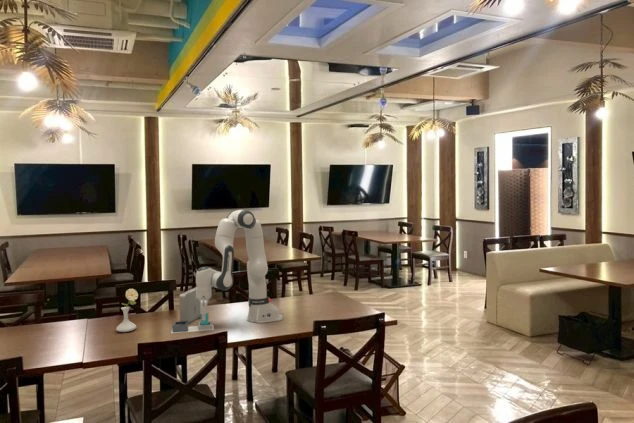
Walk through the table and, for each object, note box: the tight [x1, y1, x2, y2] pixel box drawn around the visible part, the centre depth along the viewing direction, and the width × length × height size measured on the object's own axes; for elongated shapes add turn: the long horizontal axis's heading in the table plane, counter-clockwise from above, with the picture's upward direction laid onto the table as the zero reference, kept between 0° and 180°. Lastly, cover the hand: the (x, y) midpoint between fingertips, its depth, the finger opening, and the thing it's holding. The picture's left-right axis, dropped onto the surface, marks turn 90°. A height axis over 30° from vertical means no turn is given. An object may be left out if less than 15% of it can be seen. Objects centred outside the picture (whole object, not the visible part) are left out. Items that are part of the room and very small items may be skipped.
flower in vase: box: [115, 288, 139, 333], centre depth 292 cm, size 13×11×25 cm
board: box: [170, 324, 215, 334], centre depth 288 cm, size 24×11×2 cm, turn 103°
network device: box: [178, 286, 201, 324], centre depth 308 cm, size 26×9×20 cm, turn 168°
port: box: [171, 320, 189, 333], centre depth 287 cm, size 8×8×4 cm
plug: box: [200, 312, 209, 325], centre depth 290 cm, size 4×4×8 cm
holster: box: [197, 320, 213, 331], centre depth 290 cm, size 8×8×2 cm
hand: (203, 317), depth 289 cm, fingers open, 8 cm apart
